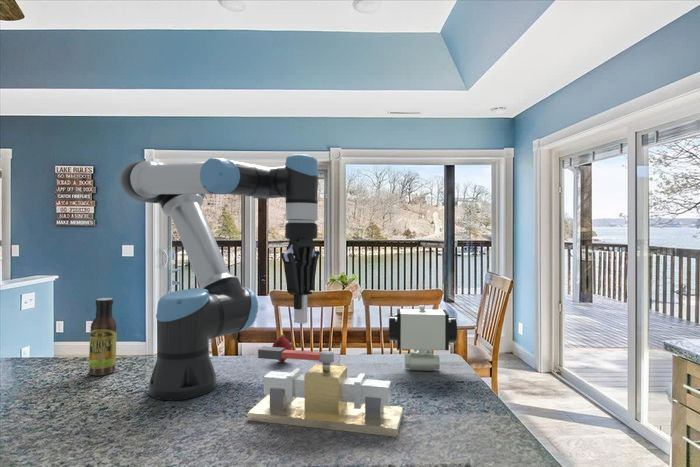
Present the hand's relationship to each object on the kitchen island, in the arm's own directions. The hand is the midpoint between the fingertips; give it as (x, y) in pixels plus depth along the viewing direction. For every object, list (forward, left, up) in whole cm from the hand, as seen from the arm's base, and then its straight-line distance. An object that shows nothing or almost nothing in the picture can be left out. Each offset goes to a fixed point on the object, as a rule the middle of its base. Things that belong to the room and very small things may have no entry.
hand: (300, 322), depth 99 cm
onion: (-13, +21, -17) cm, 30 cm away
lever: (+3, -11, -5) cm, 13 cm away
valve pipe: (+10, -11, -17) cm, 22 cm away
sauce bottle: (-56, +1, -17) cm, 59 cm away
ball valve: (+27, +24, -17) cm, 40 cm away
